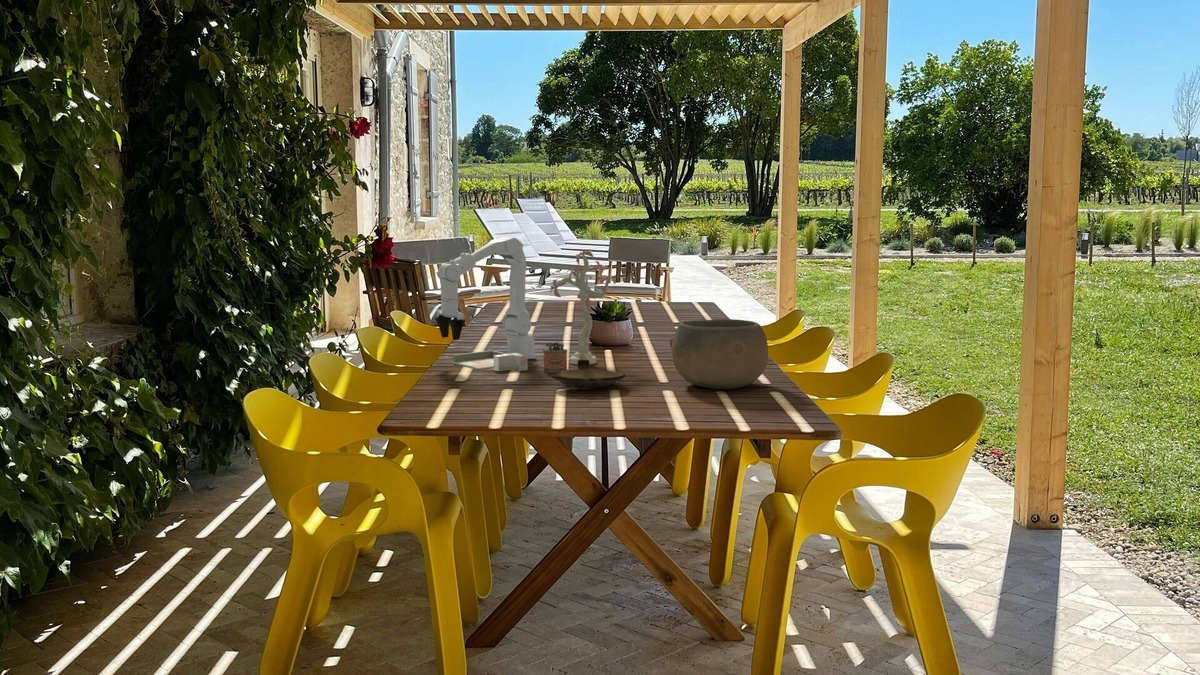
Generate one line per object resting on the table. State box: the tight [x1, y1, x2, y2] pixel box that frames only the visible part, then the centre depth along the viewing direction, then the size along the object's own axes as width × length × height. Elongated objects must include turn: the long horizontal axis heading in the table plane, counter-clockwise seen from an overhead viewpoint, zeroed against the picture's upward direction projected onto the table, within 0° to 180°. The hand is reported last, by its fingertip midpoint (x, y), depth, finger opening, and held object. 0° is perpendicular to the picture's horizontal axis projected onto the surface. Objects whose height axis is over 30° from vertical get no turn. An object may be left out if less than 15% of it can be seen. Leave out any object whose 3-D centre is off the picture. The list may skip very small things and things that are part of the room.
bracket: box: [493, 353, 528, 372], centre depth 337 cm, size 9×7×5 cm
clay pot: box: [669, 318, 769, 390], centre depth 305 cm, size 30×30×20 cm
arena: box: [453, 349, 508, 370], centre depth 349 cm, size 16×16×3 cm
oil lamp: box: [550, 354, 626, 390], centre depth 307 cm, size 22×30×8 cm
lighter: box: [542, 341, 568, 373], centre depth 333 cm, size 8×3×10 cm, turn 84°
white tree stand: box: [549, 249, 617, 366], centre depth 350 cm, size 28×24×40 cm
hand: (450, 338), depth 341 cm, fingers open, 7 cm apart
